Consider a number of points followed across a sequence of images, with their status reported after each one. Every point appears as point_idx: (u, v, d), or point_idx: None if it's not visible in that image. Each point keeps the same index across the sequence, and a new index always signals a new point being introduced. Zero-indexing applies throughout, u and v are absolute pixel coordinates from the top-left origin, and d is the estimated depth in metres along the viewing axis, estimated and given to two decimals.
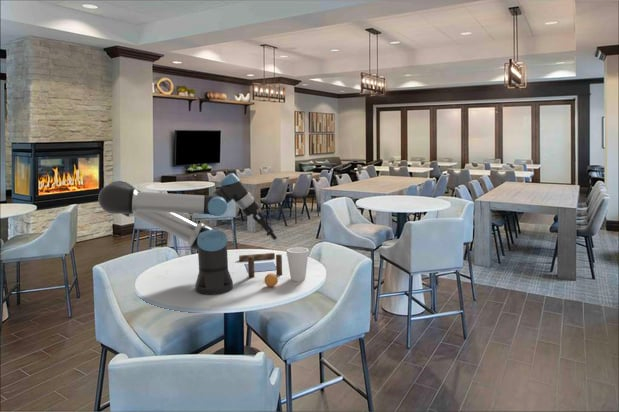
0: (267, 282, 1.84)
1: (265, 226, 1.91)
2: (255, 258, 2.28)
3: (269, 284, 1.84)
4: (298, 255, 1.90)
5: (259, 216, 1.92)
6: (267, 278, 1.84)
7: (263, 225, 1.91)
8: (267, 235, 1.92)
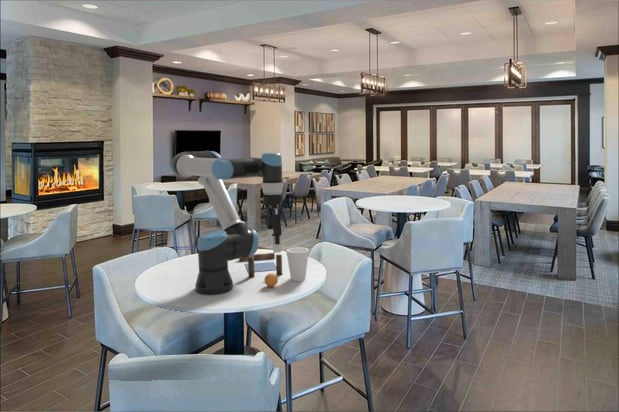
0: (267, 282, 1.84)
1: (277, 225, 1.65)
2: (255, 258, 2.28)
3: (269, 284, 1.84)
4: (298, 255, 1.90)
5: (277, 212, 1.66)
6: (267, 278, 1.84)
7: (276, 223, 1.65)
8: (272, 235, 1.66)
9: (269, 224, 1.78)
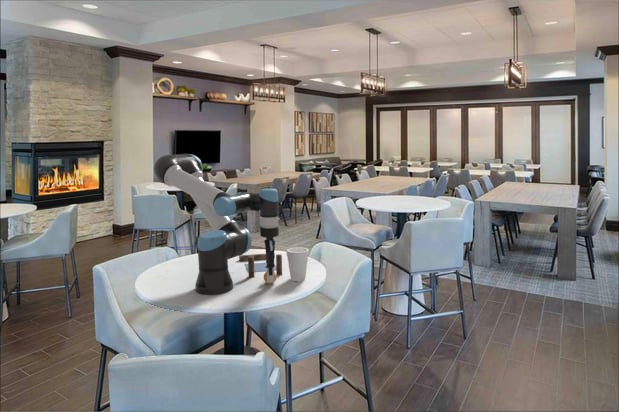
0: (266, 273, 1.89)
1: (271, 260, 1.81)
2: (255, 258, 2.28)
3: None
4: (298, 255, 1.90)
5: (272, 249, 1.79)
6: None
7: (270, 258, 1.80)
8: None
9: None
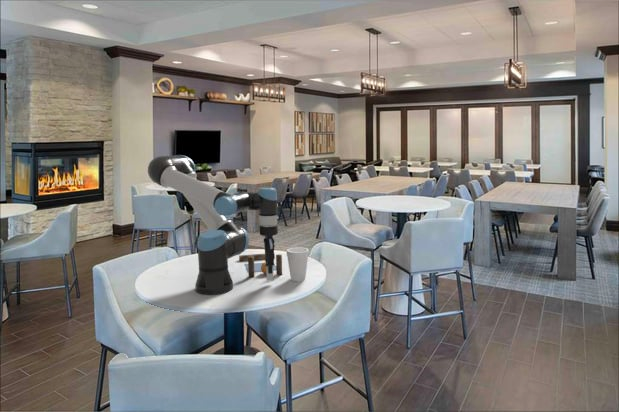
0: (263, 268, 2.02)
1: (270, 258, 1.83)
2: (255, 258, 2.28)
3: (265, 270, 2.01)
4: (298, 255, 1.90)
5: (272, 247, 1.81)
6: (263, 264, 2.02)
7: (269, 256, 1.83)
8: None
9: (267, 257, 1.88)
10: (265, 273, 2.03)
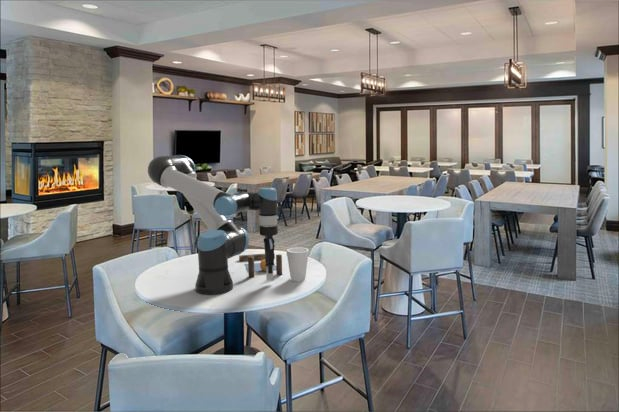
0: None
1: (270, 258, 1.83)
2: (255, 258, 2.28)
3: None
4: (298, 255, 1.90)
5: (272, 247, 1.81)
6: None
7: (269, 256, 1.83)
8: None
9: (267, 257, 1.88)
10: (264, 261, 2.07)
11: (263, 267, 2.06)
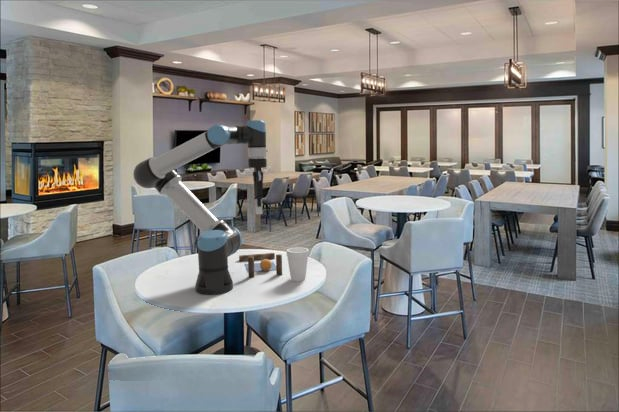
0: None
1: (259, 190, 1.84)
2: (255, 258, 2.28)
3: None
4: (298, 255, 1.90)
5: (261, 179, 1.82)
6: None
7: (258, 188, 1.84)
8: None
9: (256, 191, 1.89)
10: (264, 261, 2.07)
11: (263, 267, 2.06)
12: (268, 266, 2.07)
